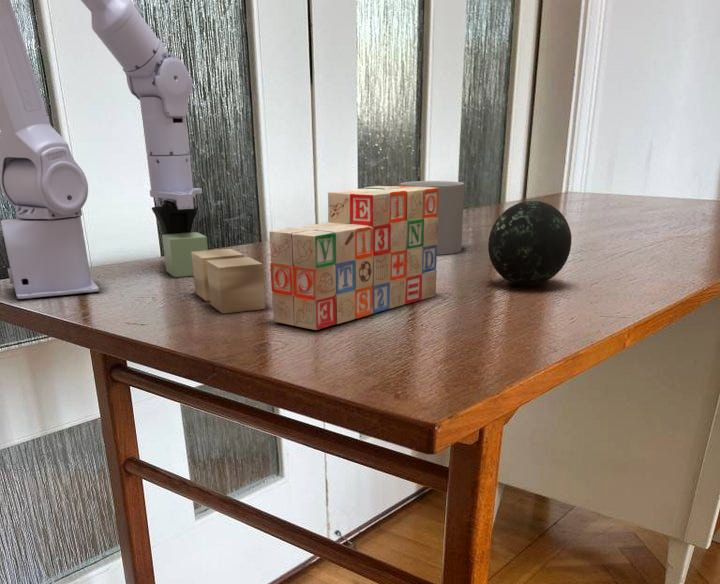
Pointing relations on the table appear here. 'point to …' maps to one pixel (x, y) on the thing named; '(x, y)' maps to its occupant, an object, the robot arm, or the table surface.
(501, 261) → the decorative stone
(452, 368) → the table surface
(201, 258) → the middle birch block
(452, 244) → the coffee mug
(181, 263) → the sage block
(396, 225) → the stack of blocks
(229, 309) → the front birch block
